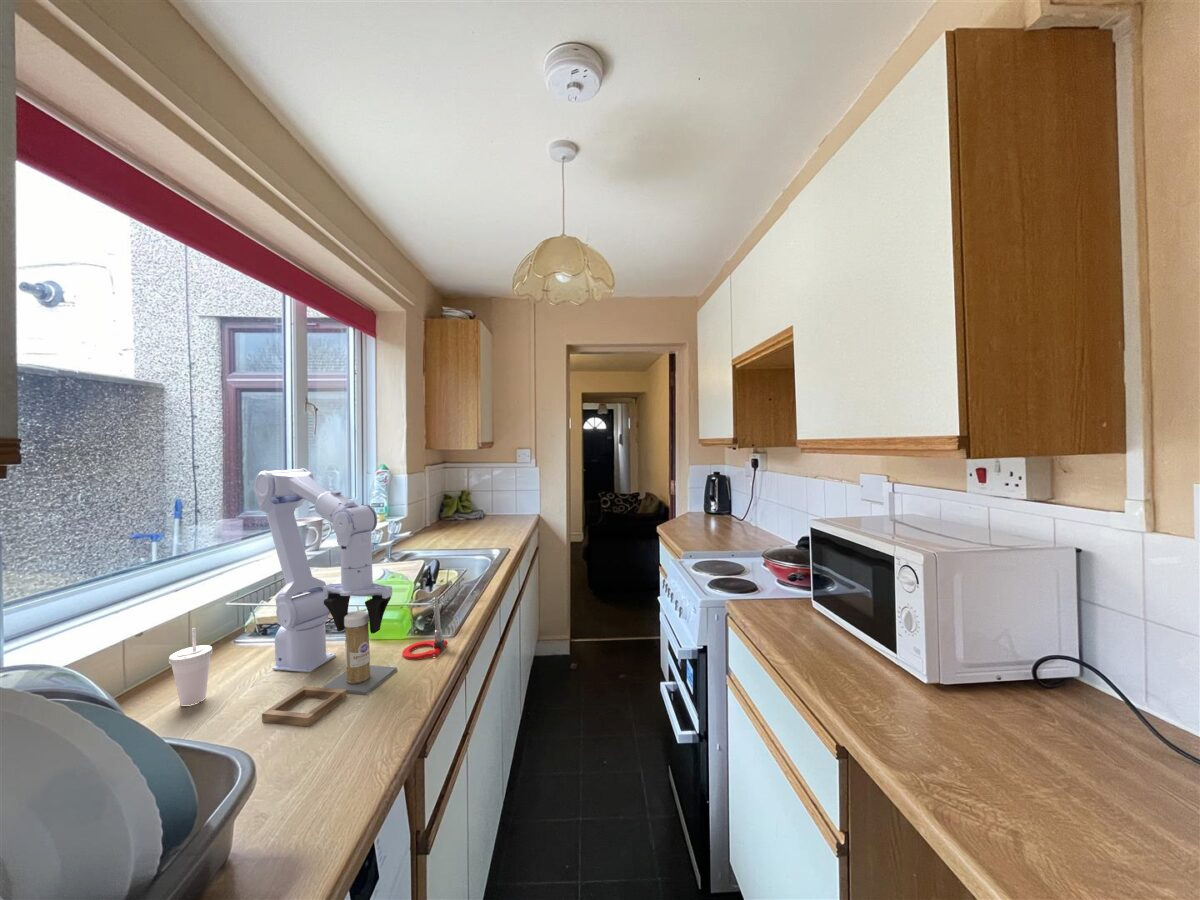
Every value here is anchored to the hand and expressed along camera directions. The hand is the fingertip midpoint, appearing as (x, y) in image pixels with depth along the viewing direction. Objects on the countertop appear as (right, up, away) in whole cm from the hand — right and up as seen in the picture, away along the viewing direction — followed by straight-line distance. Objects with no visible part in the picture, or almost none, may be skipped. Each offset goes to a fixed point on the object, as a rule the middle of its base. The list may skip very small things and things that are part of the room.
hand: (358, 630), depth 98 cm
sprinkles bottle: (0, -10, 0) cm, 10 cm away
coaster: (0, -10, 0) cm, 10 cm away
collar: (-5, -11, -10) cm, 15 cm away
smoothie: (-28, -11, -7) cm, 31 cm away
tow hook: (+9, -10, +13) cm, 19 cm away
